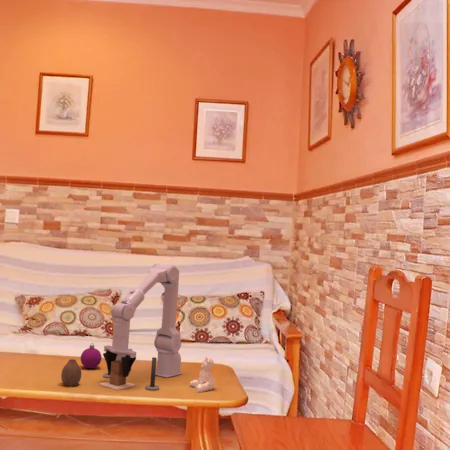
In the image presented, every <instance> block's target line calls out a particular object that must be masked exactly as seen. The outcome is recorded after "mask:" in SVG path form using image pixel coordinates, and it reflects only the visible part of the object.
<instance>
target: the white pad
mask: <svg viewBox="0 0 450 450" xmlns="http://www.w3.org/2000/svg"><path fill="white" fill-rule="evenodd" d="M99 386H101V387H106V388H108V389H112V390H115V391H119V390H123V389H127V388H132V387H136V384H135V383H130V382H128V381H126V384H124V385H120V386H116V385H112V384H110V380H109V381H105V382H101V383H99Z"/></svg>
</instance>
